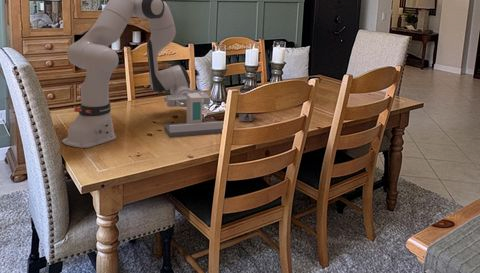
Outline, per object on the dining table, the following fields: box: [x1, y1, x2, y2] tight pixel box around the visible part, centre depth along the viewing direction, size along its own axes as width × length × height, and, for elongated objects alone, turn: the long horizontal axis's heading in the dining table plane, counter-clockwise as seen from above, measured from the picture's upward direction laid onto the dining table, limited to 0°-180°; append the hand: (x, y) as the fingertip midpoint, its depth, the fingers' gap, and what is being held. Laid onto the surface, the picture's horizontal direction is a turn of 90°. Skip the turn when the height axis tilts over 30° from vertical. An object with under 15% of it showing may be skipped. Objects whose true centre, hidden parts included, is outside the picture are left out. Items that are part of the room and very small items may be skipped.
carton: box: [186, 93, 203, 124], centre depth 220 cm, size 5×8×14 cm, turn 20°
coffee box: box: [238, 84, 257, 122], centre depth 239 cm, size 9×6×16 cm
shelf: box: [163, 120, 225, 138], centre depth 222 cm, size 25×12×5 cm, turn 110°
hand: (192, 104), depth 223 cm, fingers open, 8 cm apart
